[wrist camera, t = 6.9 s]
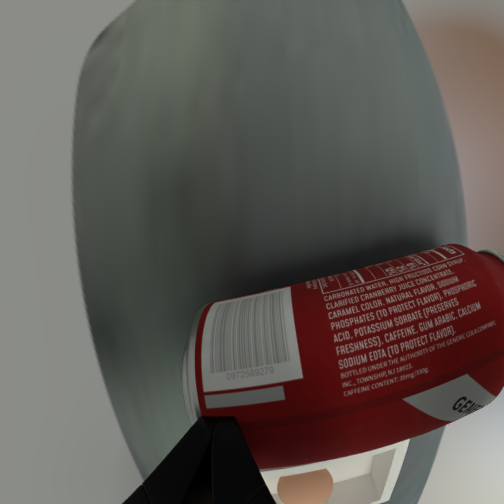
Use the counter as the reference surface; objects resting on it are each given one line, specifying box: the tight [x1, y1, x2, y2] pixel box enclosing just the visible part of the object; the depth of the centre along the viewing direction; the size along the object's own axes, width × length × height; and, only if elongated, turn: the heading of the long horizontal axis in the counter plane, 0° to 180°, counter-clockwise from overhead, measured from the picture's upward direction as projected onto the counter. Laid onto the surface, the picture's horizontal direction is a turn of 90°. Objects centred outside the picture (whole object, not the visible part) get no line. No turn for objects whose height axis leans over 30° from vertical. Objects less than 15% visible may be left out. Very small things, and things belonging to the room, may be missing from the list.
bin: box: [259, 439, 410, 504], centre depth 15 cm, size 9×12×4 cm
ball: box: [277, 468, 333, 504], centre depth 14 cm, size 4×4×4 cm
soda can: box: [182, 244, 504, 469], centre depth 10 cm, size 7×7×12 cm
